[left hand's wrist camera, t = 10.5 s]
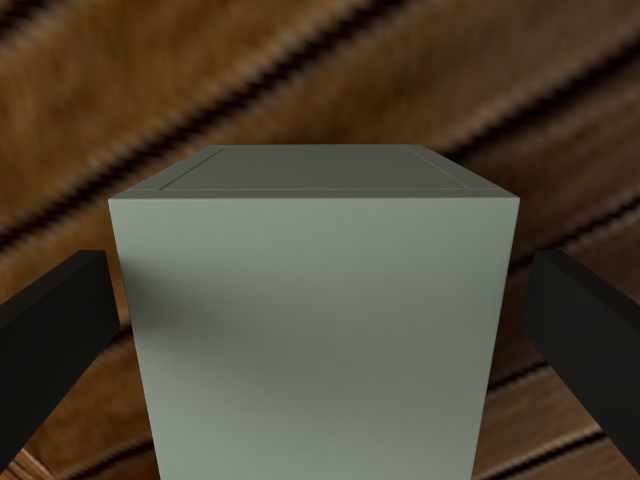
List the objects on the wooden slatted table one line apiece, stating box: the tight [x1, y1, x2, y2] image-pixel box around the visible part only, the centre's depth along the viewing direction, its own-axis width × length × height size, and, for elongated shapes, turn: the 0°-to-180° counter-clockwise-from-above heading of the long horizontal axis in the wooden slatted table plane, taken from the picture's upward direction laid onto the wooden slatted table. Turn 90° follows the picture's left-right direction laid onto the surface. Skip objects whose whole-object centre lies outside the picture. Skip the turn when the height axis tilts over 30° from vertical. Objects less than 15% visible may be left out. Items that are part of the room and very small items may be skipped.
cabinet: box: [108, 144, 520, 480], centre depth 20 cm, size 20×12×12 cm, turn 0°
